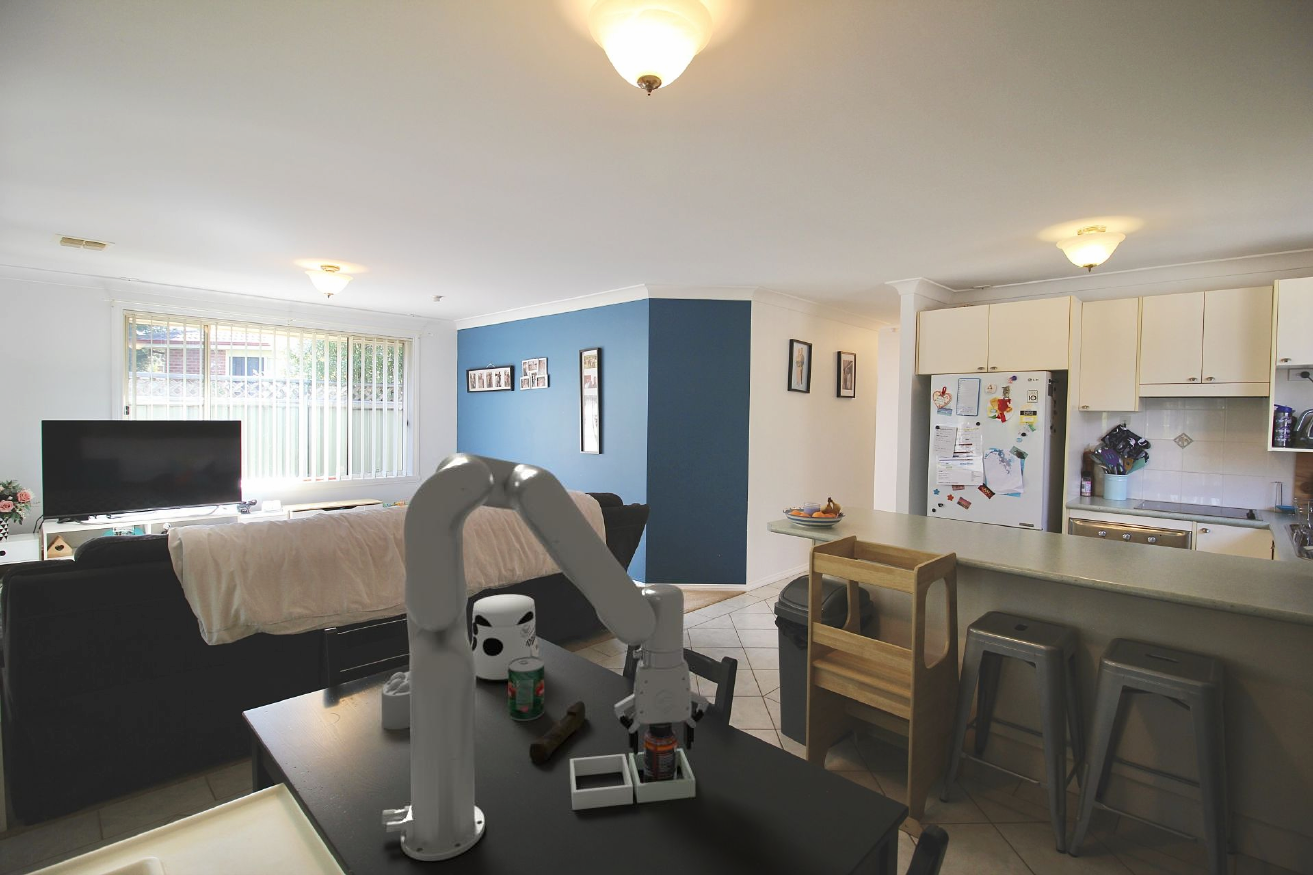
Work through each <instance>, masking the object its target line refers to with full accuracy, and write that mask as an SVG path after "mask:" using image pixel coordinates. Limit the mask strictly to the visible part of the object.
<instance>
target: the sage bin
mask: <svg viewBox="0 0 1313 875" xmlns="http://www.w3.org/2000/svg"><path fill="white" fill-rule="evenodd" d="M628 756H629V757H628V769H629V773H630V777H631V781H632V785H633V792H634V795H635V799H636V803H637V804H640V803H649V802H650V803H651V802H660V801H666V800H667V801H668V800H677V799H687V798H694V797H696V778H695V775H694V773H693V771H692V769H691V766H690V764H689V762H688V760H687V756H686V755H685V752H684V750H683V748H682V747H681V748H677V767H679V768H680V770H681V771H680V772H681V773H682V776H683V778H681V779H679V778H678V779H676V780H670V781H660V782H650V783H645V782H643V783H641V781H640V780H641V779H640V777H639V773H638V771H639V770H640V771H641V770H643V771H644V751H641V752H639V751H638V754H637V755H634V753H633V752H629V753H628Z"/></svg>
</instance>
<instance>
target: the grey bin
mask: <svg viewBox="0 0 1313 875" xmlns="http://www.w3.org/2000/svg"><path fill="white" fill-rule="evenodd" d="M610 773H622V777H623V783H624V784H623V785H614V786H612V785H611V786H605V787H603V786H602V787H594V788H593V787H592V788H584V789H577V784H576V777H580V776H591V775H592V776H593V775H600V774H601V775H602V774H610ZM569 778H570V779H569V782H570V792H571V804H572V805H571V806H572V811H576V810H584V809H585V810H586V809H593V808H603V807H610V806H611V807H613V806H614V807H615V806H620V805H621V806H622V805H623V806H624V805H632V804H634V800H633V799H634V797H633V796H634V787H633V783H632V779H631V775H630V771H629V763H628V761H627V758H626V754H625V753H619V754H609V755H608V754H607V755H598V756H589V757H587V756H586V757H575V758H570V759H569Z"/></svg>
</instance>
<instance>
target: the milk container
mask: <svg viewBox="0 0 1313 875" xmlns="http://www.w3.org/2000/svg"><path fill="white" fill-rule="evenodd" d="M471 625H472V626H471V627H472V640H471V643H470V645H471V648H472V651H473V655H474V659H475V665H476V678H478V679H481V680H483V681H489V682H496V683H497V682H508V664H509V663H510V662H511V661H512V660H514V659H517V658H521V657H537V658H540V656H539V655H540V650H539V644H538V639H537V635H536V607H535V600H534V599H533V598H531V596H527V595H523V594H510V593H509V594H506V593H505V594H498V595H492V596H487V597H483V598H481V599H478V600H477V601H476V602H474V603H473V608H472V623H471Z"/></svg>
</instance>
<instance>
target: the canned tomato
mask: <svg viewBox="0 0 1313 875" xmlns="http://www.w3.org/2000/svg"><path fill="white" fill-rule="evenodd" d="M507 682H508V684H507V686H508V687H507V688H508V690H507V692H508V695H507V696H508V698H507V699H508V702H507V706H508V707H507V708H508V712H507V715H508V717H509V718H510V719H511V720H514V721H518V722H529V721H533V720H536V719H538V718H540V717H542V716H543V714H545V661H544V659H542V658H540V657H538V658H537V657H521V658H517V659H514V660H512V661H511V662H510V663H509V664H508V681H507Z"/></svg>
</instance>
